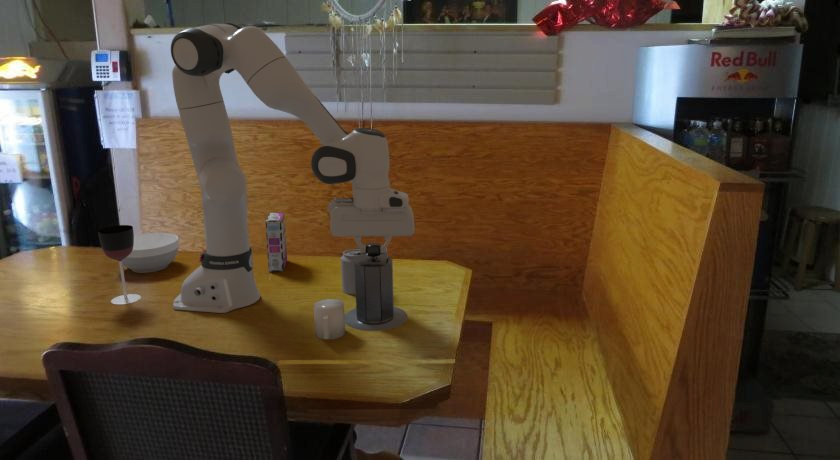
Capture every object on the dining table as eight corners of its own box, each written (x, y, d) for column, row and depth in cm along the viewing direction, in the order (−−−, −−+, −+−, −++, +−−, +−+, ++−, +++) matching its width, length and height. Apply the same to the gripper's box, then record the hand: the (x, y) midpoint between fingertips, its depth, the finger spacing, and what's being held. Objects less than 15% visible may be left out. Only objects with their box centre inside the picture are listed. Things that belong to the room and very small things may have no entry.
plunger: (361, 299, 150) (359, 248, 146) (363, 289, 156) (361, 241, 152) (386, 298, 150) (385, 248, 146) (387, 289, 156) (386, 241, 152)
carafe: (355, 324, 150) (352, 264, 146) (360, 306, 161) (357, 249, 157) (392, 324, 150) (391, 263, 146) (395, 305, 161) (393, 248, 157)
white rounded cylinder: (311, 347, 140) (309, 314, 138) (318, 329, 149) (316, 299, 147) (342, 346, 140) (340, 314, 138) (347, 329, 149) (345, 298, 147)
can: (365, 298, 169) (363, 256, 165) (338, 296, 170) (336, 255, 167) (372, 288, 176) (371, 248, 172) (347, 286, 177) (345, 247, 174)
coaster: (339, 333, 147) (339, 330, 147) (347, 307, 162) (347, 304, 162) (406, 333, 147) (406, 330, 146) (408, 307, 162) (408, 304, 162)
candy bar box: (285, 271, 190) (281, 220, 186) (268, 272, 190) (264, 221, 185) (288, 260, 201) (285, 211, 196) (272, 261, 200) (269, 212, 196)
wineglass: (149, 295, 172) (139, 226, 166) (122, 307, 164) (112, 235, 159) (128, 291, 175) (118, 223, 170) (102, 302, 167) (90, 231, 162)
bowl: (167, 277, 186) (163, 249, 184) (105, 277, 187) (101, 250, 184) (190, 257, 205) (187, 232, 202) (134, 258, 205) (130, 232, 203)
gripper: (325, 200, 143) (328, 257, 147) (413, 200, 143) (414, 256, 147) (329, 195, 149) (332, 249, 153) (414, 194, 149) (415, 248, 153)
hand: (373, 253), depth 150 cm, fingers closed on plunger, 4 cm apart
